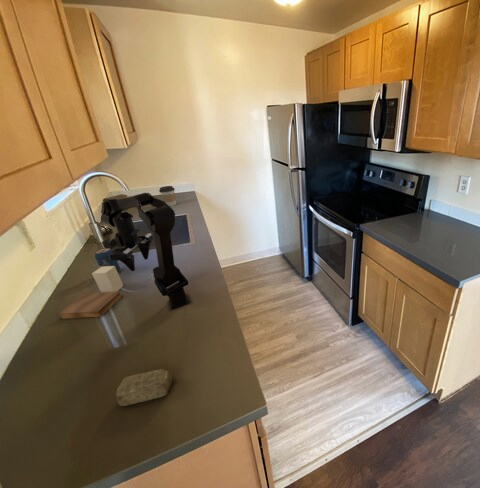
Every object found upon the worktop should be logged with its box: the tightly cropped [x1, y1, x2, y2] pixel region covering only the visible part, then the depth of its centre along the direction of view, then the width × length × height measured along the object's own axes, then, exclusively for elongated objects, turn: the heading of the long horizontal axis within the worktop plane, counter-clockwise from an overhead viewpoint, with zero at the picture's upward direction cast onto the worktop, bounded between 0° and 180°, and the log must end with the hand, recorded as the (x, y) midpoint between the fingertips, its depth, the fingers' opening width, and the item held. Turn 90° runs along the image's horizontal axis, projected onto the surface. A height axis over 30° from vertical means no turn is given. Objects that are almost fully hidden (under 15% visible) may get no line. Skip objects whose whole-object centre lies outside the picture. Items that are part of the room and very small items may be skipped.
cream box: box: [91, 266, 124, 293], centre depth 114 cm, size 6×6×10 cm
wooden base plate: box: [58, 290, 122, 320], centre depth 105 cm, size 14×12×2 cm
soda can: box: [94, 247, 121, 274], centre depth 127 cm, size 7×7×12 cm
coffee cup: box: [158, 185, 177, 207], centre depth 225 cm, size 11×11×15 cm
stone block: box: [115, 367, 173, 407], centre depth 70 cm, size 6×12×5 cm, turn 106°
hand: (139, 264), depth 110 cm, fingers open, 9 cm apart
